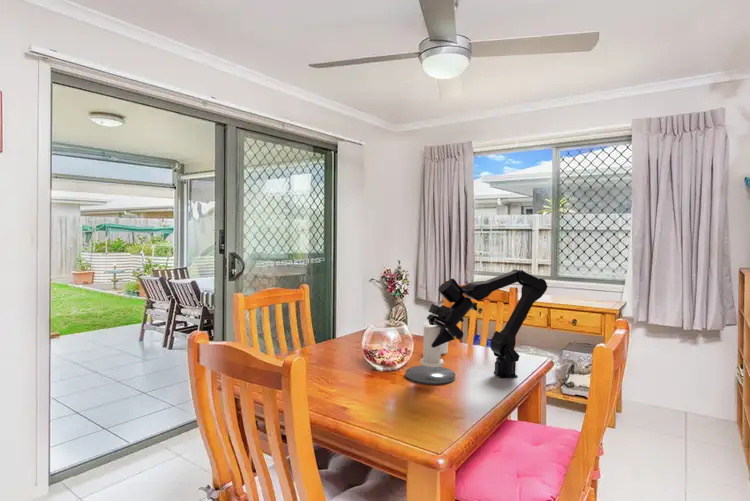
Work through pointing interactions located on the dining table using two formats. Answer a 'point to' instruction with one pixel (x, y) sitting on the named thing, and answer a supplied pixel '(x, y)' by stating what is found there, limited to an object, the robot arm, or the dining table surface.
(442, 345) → the white cup
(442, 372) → the hub plate
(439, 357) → the white flanged cylinder
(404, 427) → the dining table surface
